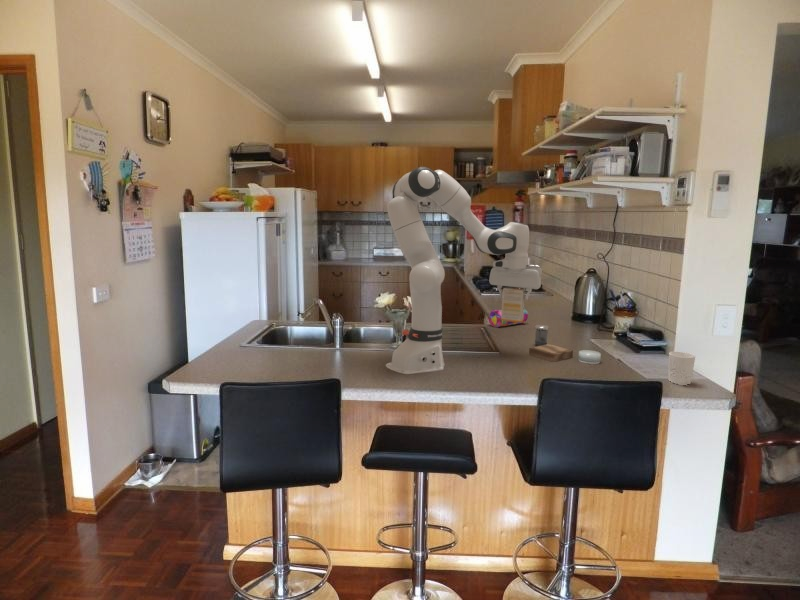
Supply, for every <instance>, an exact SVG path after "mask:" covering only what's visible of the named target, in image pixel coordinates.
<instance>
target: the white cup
mask: <svg viewBox="0 0 800 600" xmlns="http://www.w3.org/2000/svg"><path fill="white" fill-rule="evenodd" d="M695 360H696V355H695V354H694V353H690V352H685V351H676V350H675V351H670V352H669V353H668V365H667V366H668V367H667V369H668V371H667V372H668V373H667V374H668V378H667V380H669V381H671V382H674V383H678V384H690V385H691V382H692V377H693V372H694V366H695ZM669 381H668V382H669Z"/></svg>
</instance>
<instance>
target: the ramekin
mask: <svg viewBox="0 0 800 600" xmlns="http://www.w3.org/2000/svg"><path fill="white" fill-rule="evenodd" d="M601 356H602V354H601V352H599V351H597V350H596V351H595V350H589V349H582V350H579V351H578V361H579V362H581V363H584V364H589V365H598V364H600V363H601Z"/></svg>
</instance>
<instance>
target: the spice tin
mask: <svg viewBox="0 0 800 600" xmlns="http://www.w3.org/2000/svg"><path fill="white" fill-rule="evenodd" d="M534 327H535V328H534V329H535V334H534V336H535V337H534V338H535V339H534V347H537V346H542V345H546V344H548V332H549V331H548V330H549V326H548V325H544V324H536V325H535V326H534Z"/></svg>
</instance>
